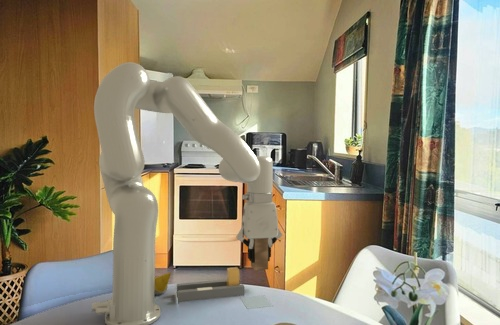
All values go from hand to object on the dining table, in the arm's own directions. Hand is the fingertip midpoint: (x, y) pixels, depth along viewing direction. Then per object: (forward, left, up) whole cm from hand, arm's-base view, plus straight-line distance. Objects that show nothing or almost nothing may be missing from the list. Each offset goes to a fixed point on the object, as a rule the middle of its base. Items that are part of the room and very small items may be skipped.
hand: (259, 259), depth 97 cm
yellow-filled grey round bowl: (-27, +5, -9) cm, 29 cm away
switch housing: (-14, 0, -9) cm, 17 cm away
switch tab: (-8, 0, -7) cm, 11 cm away
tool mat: (-3, -8, -9) cm, 13 cm away
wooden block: (0, 0, -2) cm, 2 cm away
